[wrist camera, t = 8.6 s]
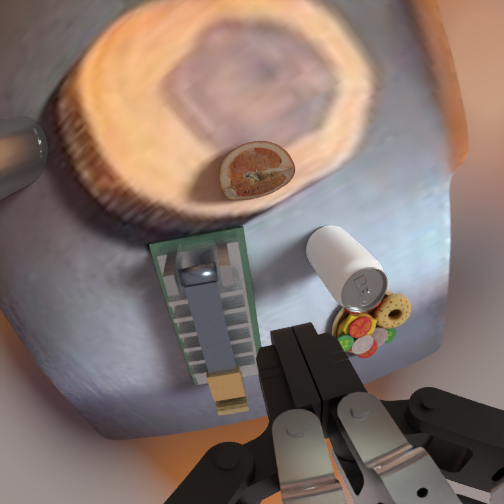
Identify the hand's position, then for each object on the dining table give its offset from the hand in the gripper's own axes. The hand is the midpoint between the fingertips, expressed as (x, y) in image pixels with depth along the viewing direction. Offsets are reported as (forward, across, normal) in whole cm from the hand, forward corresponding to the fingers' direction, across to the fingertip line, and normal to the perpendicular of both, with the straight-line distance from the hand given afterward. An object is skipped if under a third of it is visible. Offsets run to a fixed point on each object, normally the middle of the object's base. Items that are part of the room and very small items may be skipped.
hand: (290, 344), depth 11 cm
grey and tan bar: (+23, +5, +18) cm, 29 cm away
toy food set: (+30, -19, +26) cm, 44 cm away
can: (+29, -12, +11) cm, 33 cm away
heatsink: (+29, +5, +19) cm, 35 cm away
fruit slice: (+29, -3, -1) cm, 29 cm away
